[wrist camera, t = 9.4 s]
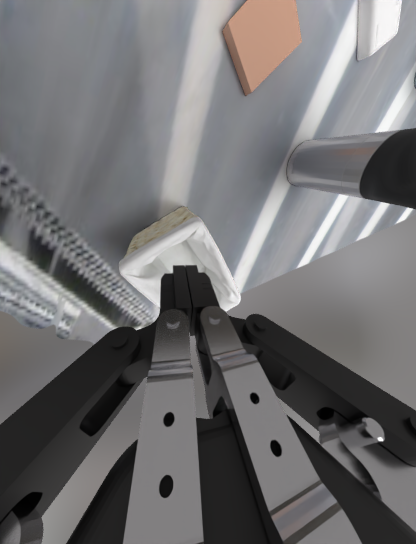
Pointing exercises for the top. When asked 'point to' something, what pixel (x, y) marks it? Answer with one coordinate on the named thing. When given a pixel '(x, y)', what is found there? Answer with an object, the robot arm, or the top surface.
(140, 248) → the storage basket
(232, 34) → the terracotta tile
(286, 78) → the top surface
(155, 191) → the top surface
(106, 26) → the top surface
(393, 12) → the soap
